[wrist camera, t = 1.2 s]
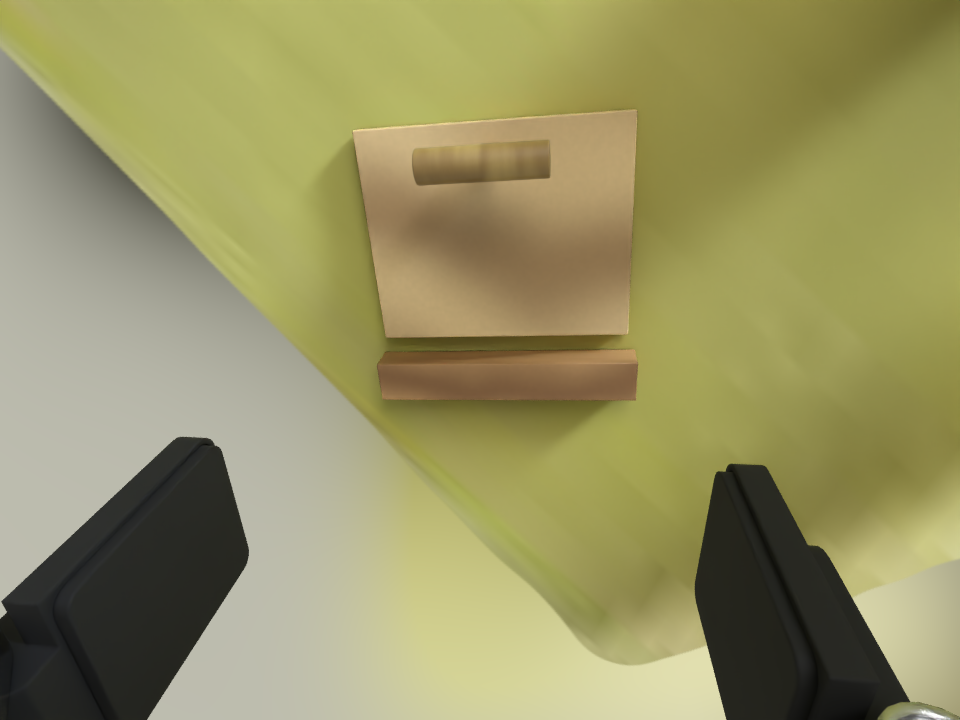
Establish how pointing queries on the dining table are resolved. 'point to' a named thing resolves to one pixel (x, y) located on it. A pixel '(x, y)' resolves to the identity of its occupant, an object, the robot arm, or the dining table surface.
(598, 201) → the photo frame
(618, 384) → the frame foot
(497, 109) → the dining table surface
